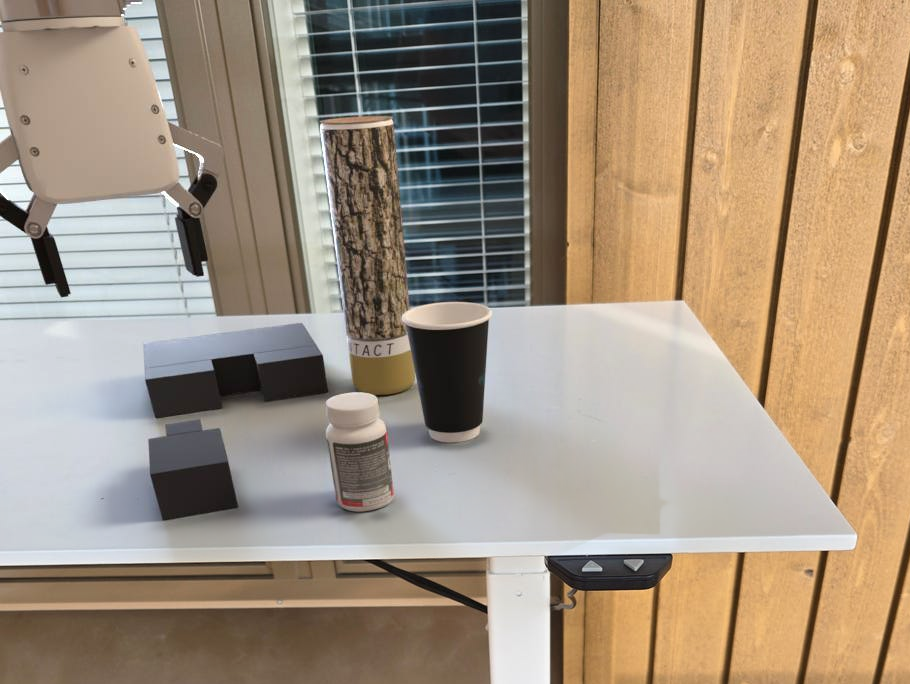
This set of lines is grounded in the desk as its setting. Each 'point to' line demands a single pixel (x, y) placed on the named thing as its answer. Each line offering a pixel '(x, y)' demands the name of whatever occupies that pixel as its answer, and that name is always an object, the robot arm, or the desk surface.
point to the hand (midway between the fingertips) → (131, 283)
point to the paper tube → (369, 249)
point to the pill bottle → (358, 452)
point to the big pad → (232, 368)
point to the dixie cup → (450, 366)
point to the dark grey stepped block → (190, 471)
